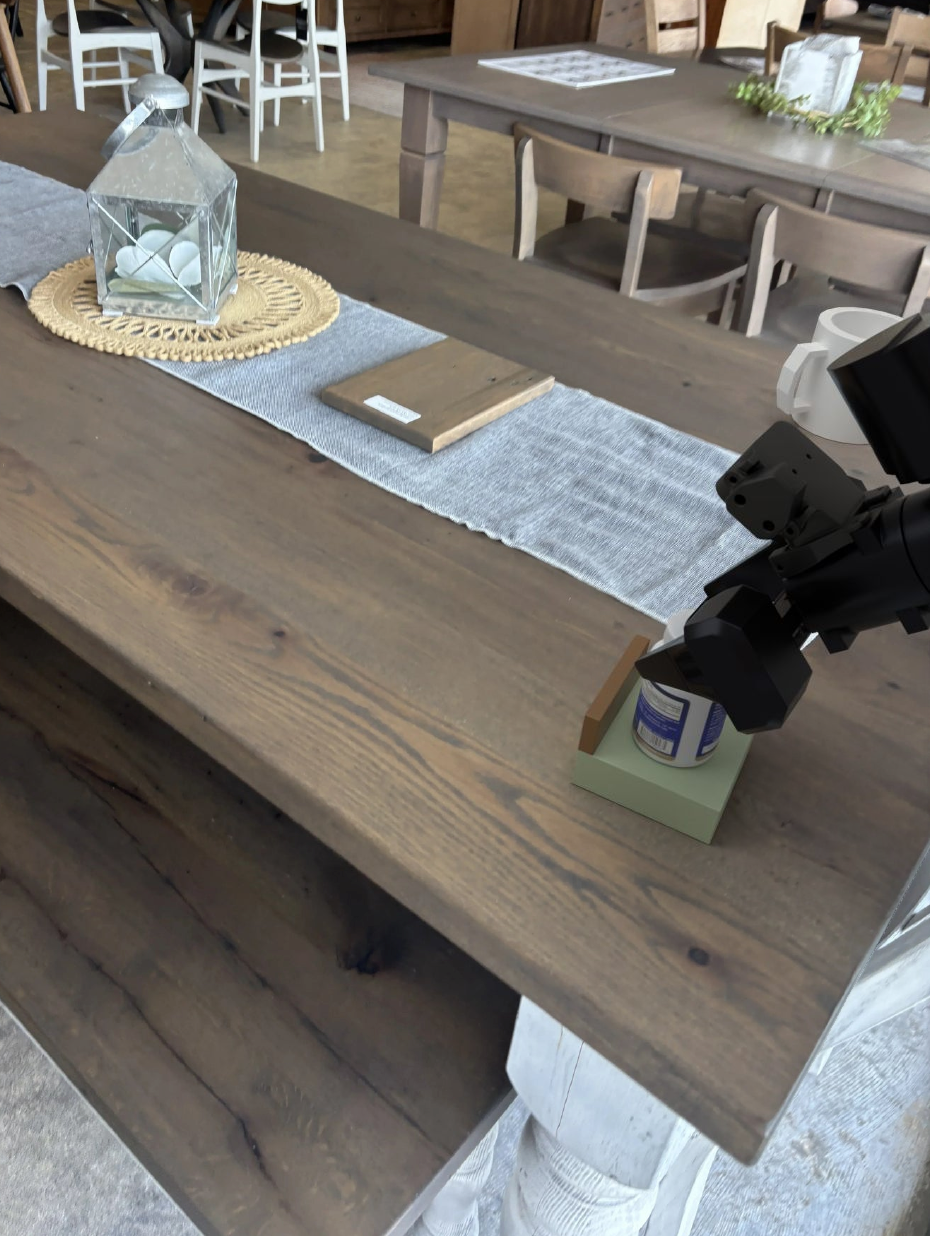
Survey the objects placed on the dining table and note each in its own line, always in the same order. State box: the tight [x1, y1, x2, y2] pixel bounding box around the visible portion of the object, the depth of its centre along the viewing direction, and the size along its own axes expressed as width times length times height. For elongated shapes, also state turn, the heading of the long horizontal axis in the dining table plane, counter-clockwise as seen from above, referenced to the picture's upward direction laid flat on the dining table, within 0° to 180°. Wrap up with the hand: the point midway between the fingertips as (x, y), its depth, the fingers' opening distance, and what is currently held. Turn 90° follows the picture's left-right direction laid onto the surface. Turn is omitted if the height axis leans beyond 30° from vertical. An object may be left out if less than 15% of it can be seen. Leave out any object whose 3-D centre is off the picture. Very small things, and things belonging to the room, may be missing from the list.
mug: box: [776, 306, 905, 445], centre depth 103 cm, size 14×10×11 cm
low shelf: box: [570, 633, 755, 845], centre depth 63 cm, size 9×9×6 cm
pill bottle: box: [632, 608, 727, 767], centre depth 60 cm, size 5×5×9 cm
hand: (674, 629), depth 59 cm, fingers open, 9 cm apart
